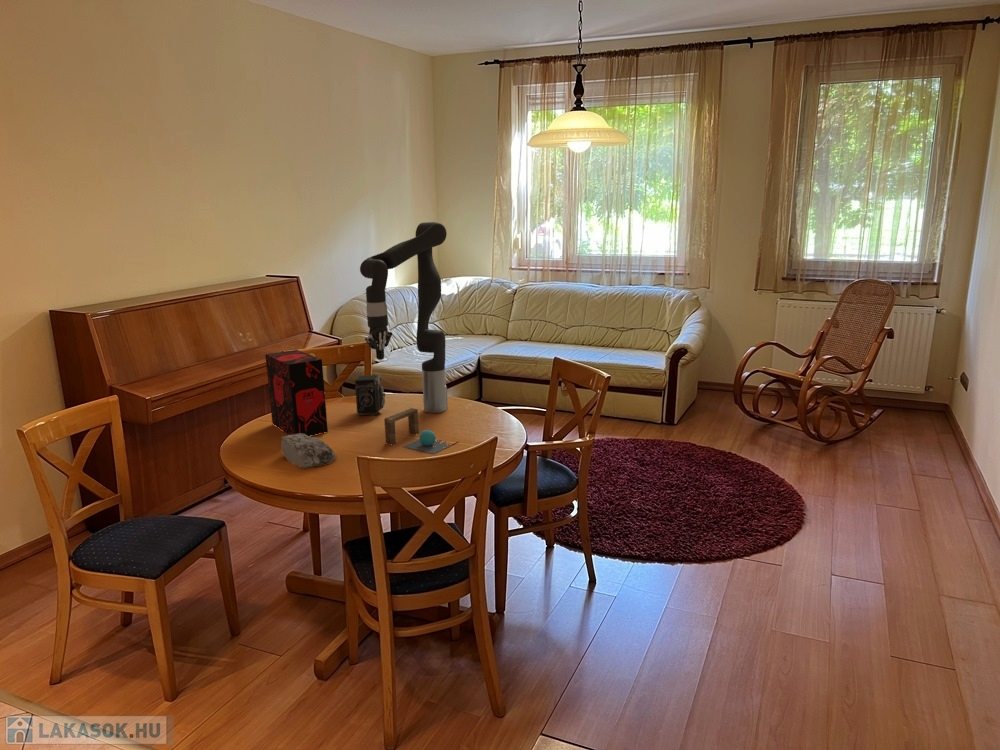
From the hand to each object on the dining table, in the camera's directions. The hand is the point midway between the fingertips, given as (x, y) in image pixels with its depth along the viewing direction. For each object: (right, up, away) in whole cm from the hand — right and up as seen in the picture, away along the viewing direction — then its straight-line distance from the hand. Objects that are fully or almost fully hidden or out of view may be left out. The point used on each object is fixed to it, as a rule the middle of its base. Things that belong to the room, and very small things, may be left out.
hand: (380, 359), depth 261 cm
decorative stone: (-19, -35, -29) cm, 49 cm away
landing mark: (+21, -30, -18) cm, 41 cm away
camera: (-7, -22, +21) cm, 31 cm away
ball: (+20, -28, -19) cm, 39 cm away
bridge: (+10, -29, -11) cm, 32 cm away
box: (-31, -27, +3) cm, 41 cm away
